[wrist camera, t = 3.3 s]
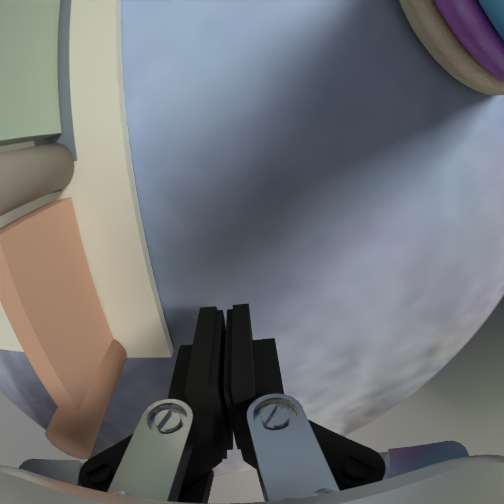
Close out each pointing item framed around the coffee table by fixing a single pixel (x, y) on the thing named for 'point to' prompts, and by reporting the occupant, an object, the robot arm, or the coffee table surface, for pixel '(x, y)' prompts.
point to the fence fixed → (28, 70)
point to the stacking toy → (463, 38)
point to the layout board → (101, 179)
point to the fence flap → (55, 297)
